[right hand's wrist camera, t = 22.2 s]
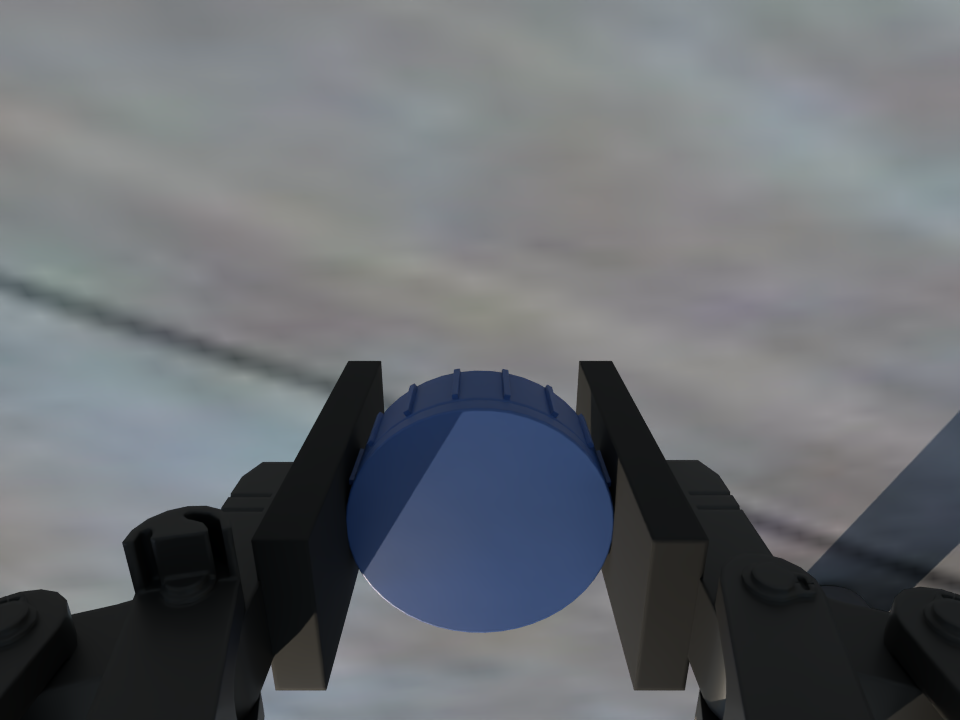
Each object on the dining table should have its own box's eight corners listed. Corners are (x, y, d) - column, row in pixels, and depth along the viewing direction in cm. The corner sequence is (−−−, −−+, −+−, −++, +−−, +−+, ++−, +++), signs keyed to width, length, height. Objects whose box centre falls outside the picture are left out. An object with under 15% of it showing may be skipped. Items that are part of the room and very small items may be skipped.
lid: (330, 387, 11) (307, 429, 10) (587, 345, 11) (604, 381, 10) (389, 588, 13) (376, 650, 12) (612, 556, 13) (630, 616, 11)
